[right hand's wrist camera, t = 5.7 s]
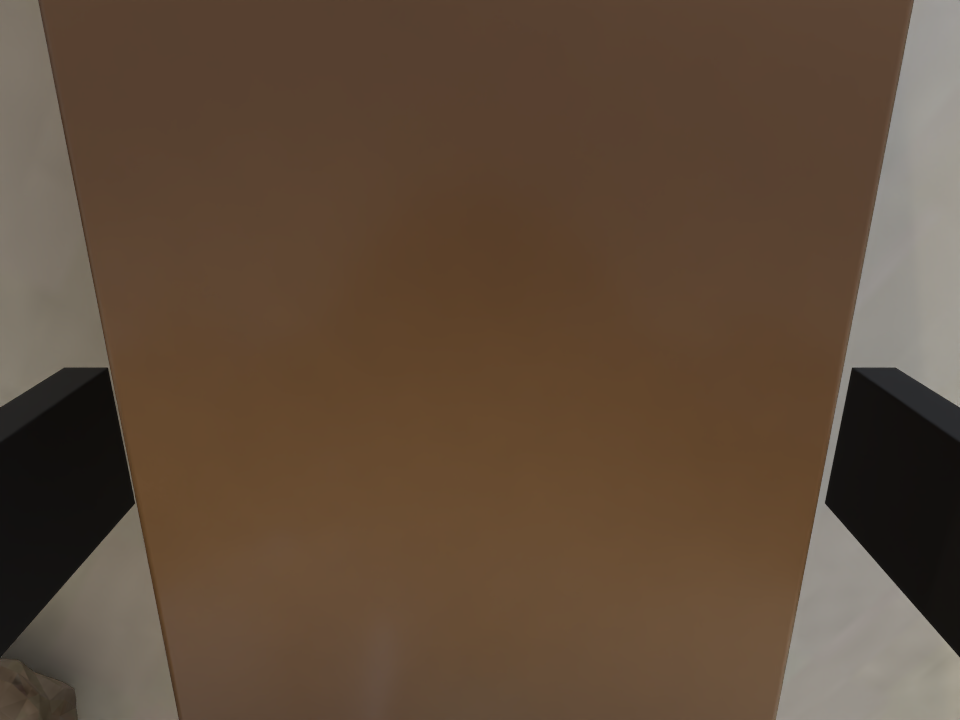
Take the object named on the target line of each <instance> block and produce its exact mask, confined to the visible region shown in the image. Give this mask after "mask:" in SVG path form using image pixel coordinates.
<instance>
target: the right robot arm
mask: <svg viewBox="0 0 960 720" xmlns="http://www.w3.org/2000/svg"><path fill="white" fill-rule="evenodd" d="M134 504H135V500H134V495H133V490H132V485H131V480H130V475H129V470H128V465H127V460H126V455H125V450H124V445H123V440H122V435H121V431H120V426H119V421H118V416H117V411H116V406H115V401H114V396H113V391H112V386H111V381H110V376H109V371H108V368H63V369H62V370H60V371H58V372H57V373H55V374H54V375H52V376H50V377H49V378H47V379H46V380H44V381H42V382H41V383H39V384H37V385H36V386H34V387H33V388H31V389H29V390H28V391H26V392H25V393H23V394H21V395H20V396H18V397H17V398H15V399H13V400H12V401H10V402H9V403H7V404H5V405H4V406H2V407H0V657H1V656H2V655H3V653H4V652H5V651H6V650H7V649H8V648H9V647H10V645H11V644H12V643H13V642H14V641H15V640H16V639H17V637H18V636H19V635H20V634H21V633H22V632H23V631H24V629H25V628H26V627H27V626H28V625H29V624H30V623H31V621H32V620H33V619H34V618H35V617H36V616H37V615H38V613H39V612H40V611H41V610H42V609H43V608H44V607H45V606H46V604H47V603H48V602H49V601H50V600H51V599H52V598H53V596H54V595H55V594H56V593H57V592H58V591H59V590H60V588H61V587H62V586H63V585H64V584H65V583H66V582H67V580H68V579H69V578H70V577H71V576H72V575H73V574H74V572H75V571H76V570H77V569H78V568H79V567H80V566H81V564H82V563H83V562H84V561H85V560H86V559H87V558H88V556H89V555H90V554H91V553H92V552H93V551H94V550H95V548H96V547H97V546H98V545H99V544H100V543H101V542H102V540H103V539H104V538H105V537H106V536H107V535H108V534H109V532H110V531H111V530H112V529H113V528H114V527H115V526H116V524H117V523H118V522H119V521H120V520H121V519H122V518H123V516H124V515H125V514H126V513H127V512H128V511H129V510H130V508H131V507H132V506H133V505H134ZM825 504H826V505H827V506H828V507H829V508H830V510H831V511H832V512H833V513H834V514H835V515H836V516H837V518H838V519H839V520H840V521H841V522H842V523H843V524H844V526H845V527H846V528H847V529H848V530H849V531H850V532H851V534H852V535H853V536H854V537H855V538H856V539H857V540H858V542H859V543H860V544H861V545H862V546H863V547H864V548H865V550H866V551H867V552H868V553H869V554H870V555H871V556H872V558H873V559H874V560H875V561H876V562H877V563H878V564H879V566H880V567H881V568H882V569H883V570H884V571H885V572H886V574H887V575H888V576H889V577H890V578H891V579H892V580H893V582H894V583H895V584H896V585H897V586H898V587H899V588H900V590H901V591H902V592H903V593H904V594H905V595H906V596H907V598H908V599H909V600H910V601H911V602H912V603H913V604H914V606H915V607H916V608H917V609H918V610H919V611H920V612H921V613H922V615H923V616H924V617H925V618H926V619H927V620H928V621H929V623H930V624H931V625H932V626H933V627H934V628H935V629H936V631H937V632H938V633H939V634H940V635H941V636H942V637H943V639H944V640H945V641H946V642H947V643H948V644H949V645H950V647H951V648H952V649H953V650H954V651H955V652H956V653H957V655H958V656H959V657H960V407H958V406H956V405H955V404H953V403H951V402H950V401H948V400H947V399H945V398H943V397H942V396H940V395H939V394H937V393H935V392H934V391H932V390H931V389H929V388H927V387H926V386H924V385H923V384H921V383H919V382H918V381H916V380H914V379H913V378H911V377H910V376H908V375H906V374H905V373H903V372H902V371H900V370H898V369H897V368H852V371H851V376H850V381H849V386H848V391H847V396H846V401H845V406H844V411H843V416H842V421H841V426H840V430H839V435H838V440H837V445H836V450H835V455H834V460H833V465H832V470H831V475H830V480H829V485H828V490H827V495H826V500H825Z"/></svg>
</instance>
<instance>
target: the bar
mask: <svg viewBox="0 0 960 720" xmlns="http://www.w3.org/2000/svg"><path fill="white" fill-rule="evenodd" d="M38 1H39V6H40V11H41V16H42V21H43V27H44V32H45V37H46V42H47V47H48V52H49V57H50V62H51V67H52V73H53V78H54V83H55V88H56V93H57V98H58V103H59V108H60V113H61V119H62V124H63V129H64V134H65V139H66V144H67V149H68V154H69V159H70V165H71V170H72V175H73V180H74V185H75V190H76V195H77V200H78V205H79V211H80V216H81V221H82V226H83V231H84V236H85V241H86V246H87V251H88V257H89V262H90V267H91V272H92V277H93V282H94V287H95V292H96V297H97V303H98V308H99V313H100V318H101V323H102V328H103V333H104V338H105V343H106V349H107V354H108V359H109V364H110V369H111V374H112V379H113V384H114V389H115V395H116V400H117V405H118V410H119V415H120V420H121V425H122V430H123V435H124V441H125V446H126V451H127V456H128V461H129V466H130V471H131V476H132V481H133V487H134V492H135V497H136V502H137V507H138V512H139V517H140V522H141V527H142V533H143V538H144V543H145V548H146V553H147V558H148V563H149V568H150V573H151V579H152V584H153V589H154V594H155V599H156V604H157V609H158V614H159V619H160V625H161V630H162V635H163V640H164V645H165V650H166V655H167V660H168V665H169V671H170V676H171V681H172V686H173V691H174V696H175V701H176V706H177V711H178V717H179V720H776V715H777V710H778V705H779V699H780V694H781V689H782V684H783V679H784V673H785V668H786V663H787V658H788V653H789V647H790V642H791V637H792V632H793V627H794V621H795V616H796V611H797V606H798V601H799V595H800V590H801V585H802V580H803V575H804V569H805V564H806V559H807V554H808V548H809V543H810V538H811V533H812V528H813V522H814V517H815V512H816V507H817V502H818V496H819V491H820V486H821V481H822V476H823V470H824V465H825V460H826V455H827V450H828V444H829V439H830V434H831V429H832V424H833V418H834V413H835V408H836V403H837V398H838V392H839V387H840V382H841V377H842V372H843V366H844V361H845V356H846V351H847V345H848V340H849V335H850V330H851V325H852V319H853V314H854V309H855V304H856V299H857V293H858V288H859V283H860V278H861V273H862V267H863V262H864V257H865V252H866V247H867V241H868V236H869V231H870V226H871V221H872V215H873V210H874V205H875V200H876V195H877V189H878V184H879V179H880V174H881V169H882V163H883V158H884V153H885V148H886V142H887V137H888V132H889V127H890V122H891V116H892V111H893V106H894V101H895V96H896V90H897V85H898V80H899V75H900V70H901V64H902V59H903V54H904V49H905V44H906V38H907V33H908V28H909V23H910V18H911V12H912V7H913V2H914V0H38Z"/></svg>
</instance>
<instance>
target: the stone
mask: <svg viewBox="0 0 960 720" xmlns="http://www.w3.org/2000/svg"><path fill="white" fill-rule="evenodd" d="M0 720H78V717H77V709H76V696H75V690H74V688H72V687H70V686H69V685H67V684H65V683H64V682H62V681H59V680H56V679H53V678H50V677H47V676H44V675H41V674H38V673H35V672H33V671H32V670H31V669H30V668H28V667H27V666H26V665H24V664H23V663H22V662H20V661H19V660H16V659H0Z"/></svg>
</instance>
